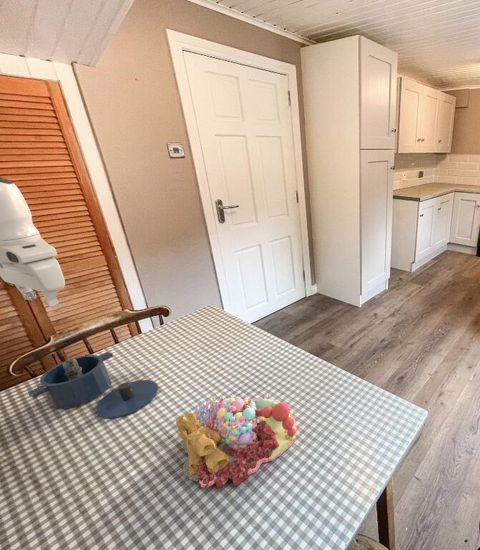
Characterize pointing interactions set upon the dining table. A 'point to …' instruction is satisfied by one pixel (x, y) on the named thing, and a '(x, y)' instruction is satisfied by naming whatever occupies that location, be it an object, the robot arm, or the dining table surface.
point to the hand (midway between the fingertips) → (42, 302)
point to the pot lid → (127, 399)
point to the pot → (75, 383)
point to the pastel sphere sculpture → (234, 438)
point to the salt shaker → (72, 369)
